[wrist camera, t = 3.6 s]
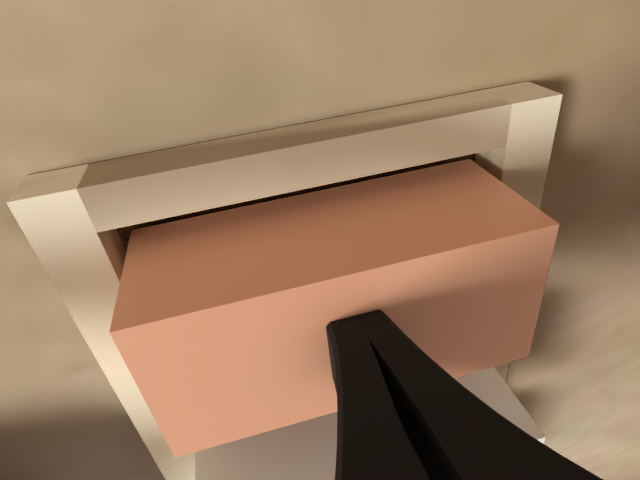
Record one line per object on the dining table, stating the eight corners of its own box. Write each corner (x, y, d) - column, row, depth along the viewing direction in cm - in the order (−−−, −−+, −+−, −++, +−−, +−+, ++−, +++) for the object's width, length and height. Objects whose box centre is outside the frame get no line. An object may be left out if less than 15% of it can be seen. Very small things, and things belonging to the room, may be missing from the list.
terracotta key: (459, 274, 16) (528, 356, 13) (178, 344, 15) (174, 458, 11) (469, 158, 13) (560, 223, 10) (131, 230, 12) (109, 332, 9)
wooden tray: (469, 467, 25) (483, 493, 24) (220, 546, 23) (222, 579, 22) (527, 81, 13) (562, 94, 12) (26, 175, 11) (6, 202, 10)
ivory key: (463, 414, 19) (522, 512, 15) (225, 485, 17) (233, 610, 14) (473, 338, 16) (545, 437, 13) (194, 414, 15) (195, 547, 11)
